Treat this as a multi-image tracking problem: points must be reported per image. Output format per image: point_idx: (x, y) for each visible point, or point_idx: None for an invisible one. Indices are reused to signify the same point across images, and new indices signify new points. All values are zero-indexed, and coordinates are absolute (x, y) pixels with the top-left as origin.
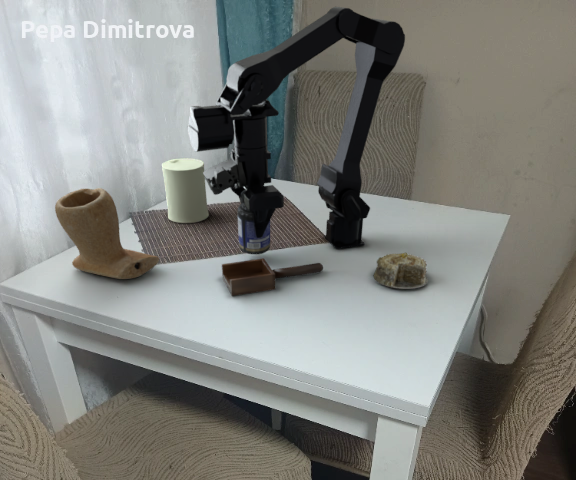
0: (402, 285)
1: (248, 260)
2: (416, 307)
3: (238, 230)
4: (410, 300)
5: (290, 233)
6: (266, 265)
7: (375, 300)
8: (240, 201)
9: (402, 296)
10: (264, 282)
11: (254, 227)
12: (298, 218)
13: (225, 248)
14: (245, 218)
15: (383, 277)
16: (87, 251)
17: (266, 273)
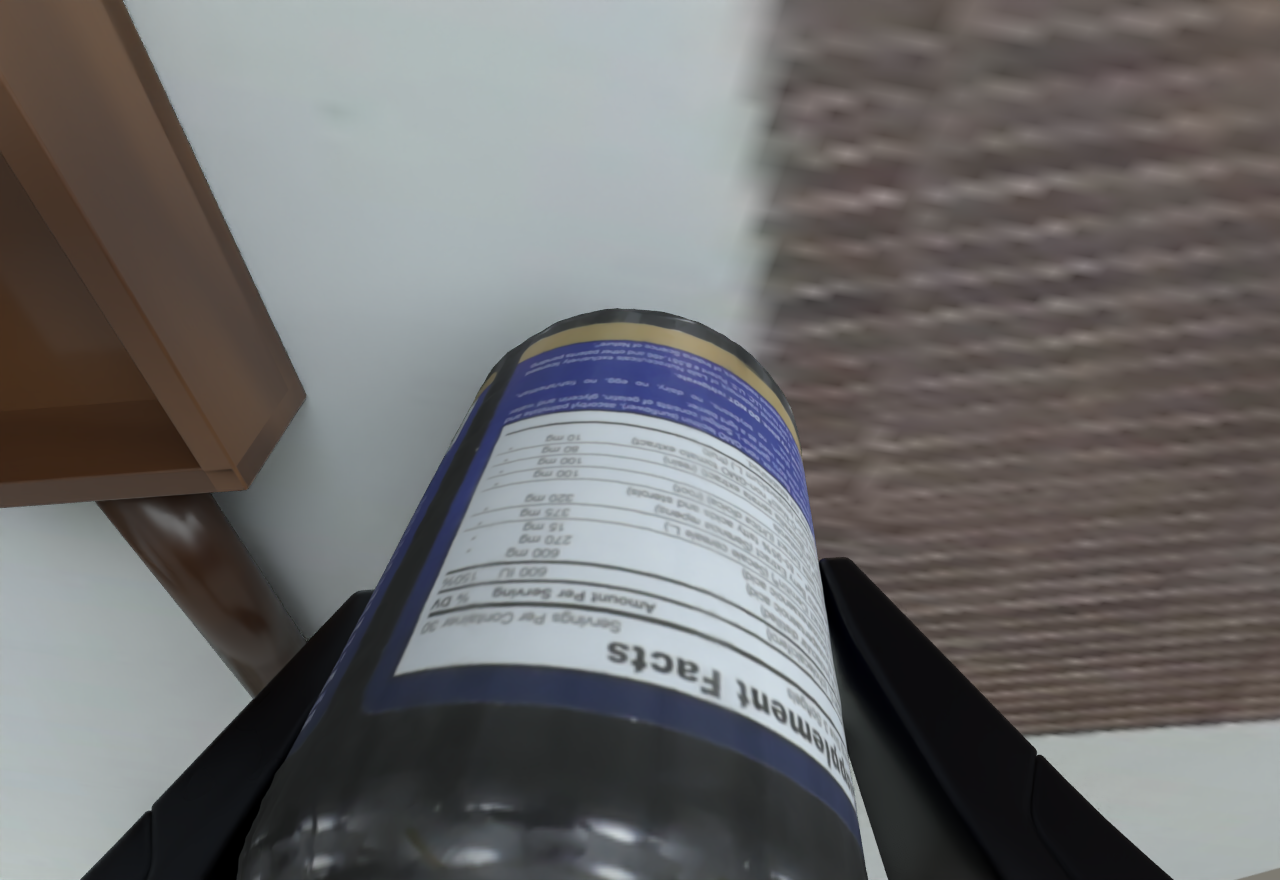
0: None
1: (159, 349)
2: (8, 841)
3: (614, 445)
4: (70, 839)
5: (960, 640)
6: (61, 485)
7: (26, 772)
8: (1100, 873)
9: (102, 830)
10: None
11: (276, 711)
12: (1149, 701)
13: (974, 136)
14: (283, 778)
15: None
16: None
17: (84, 432)
